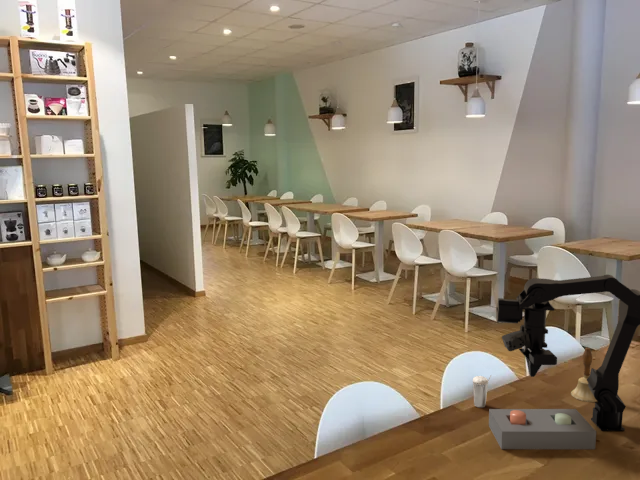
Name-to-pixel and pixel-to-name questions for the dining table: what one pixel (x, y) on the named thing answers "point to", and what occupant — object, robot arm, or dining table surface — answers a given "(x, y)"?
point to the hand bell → (584, 380)
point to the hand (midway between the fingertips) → (532, 376)
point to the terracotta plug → (517, 417)
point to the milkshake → (480, 390)
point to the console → (542, 430)
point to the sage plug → (562, 419)
